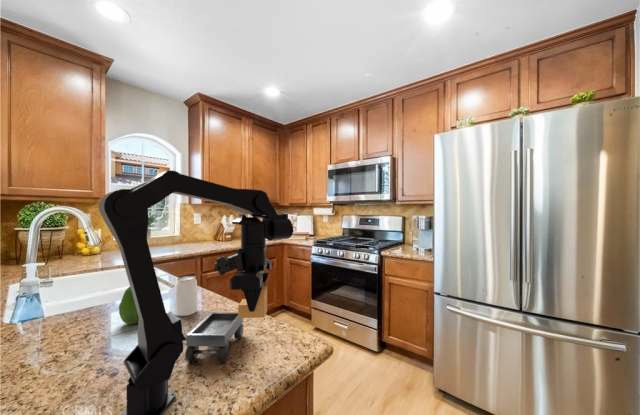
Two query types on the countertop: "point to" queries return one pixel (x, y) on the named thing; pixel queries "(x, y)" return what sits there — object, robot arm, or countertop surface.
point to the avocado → (128, 308)
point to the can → (186, 296)
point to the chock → (259, 310)
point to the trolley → (214, 335)
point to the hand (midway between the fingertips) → (253, 307)
